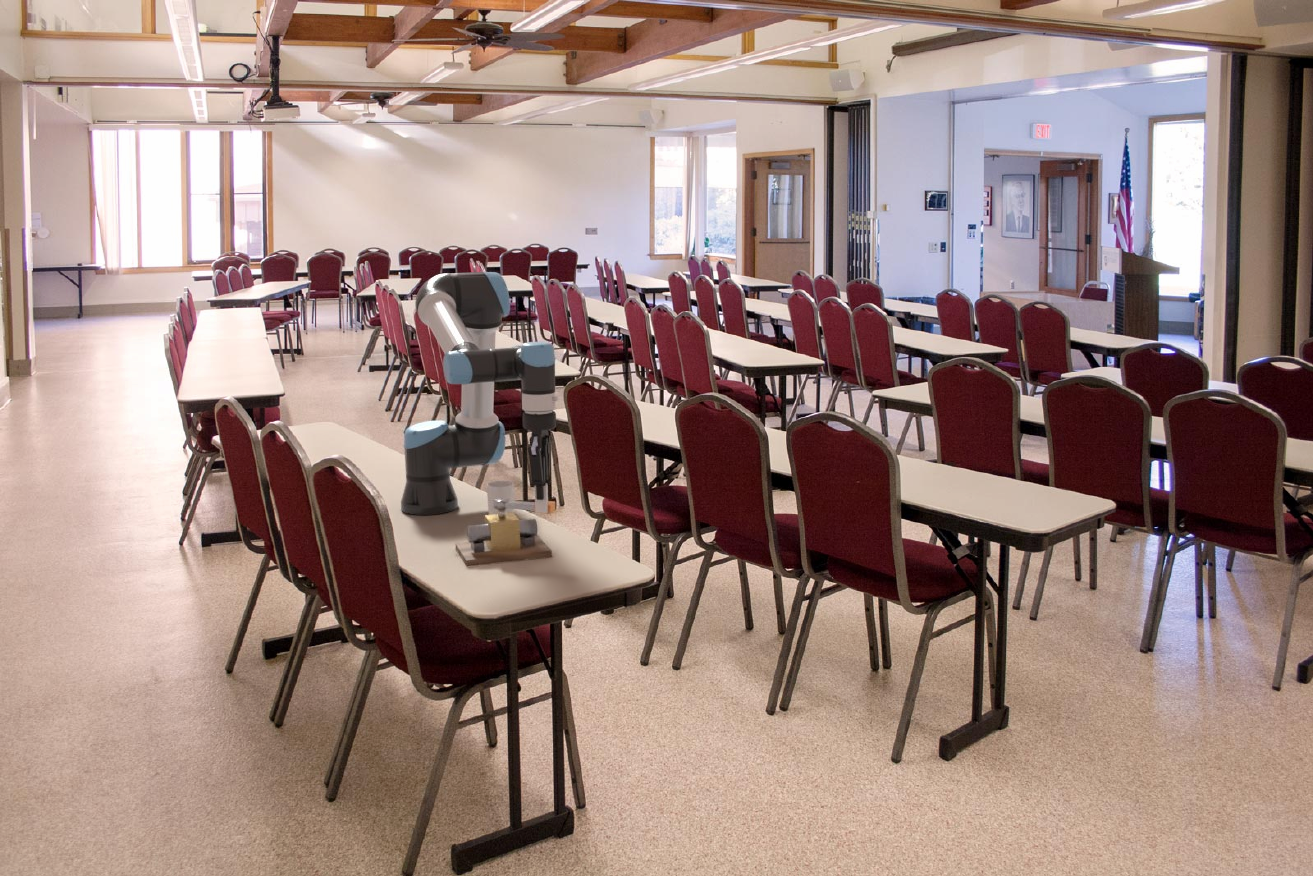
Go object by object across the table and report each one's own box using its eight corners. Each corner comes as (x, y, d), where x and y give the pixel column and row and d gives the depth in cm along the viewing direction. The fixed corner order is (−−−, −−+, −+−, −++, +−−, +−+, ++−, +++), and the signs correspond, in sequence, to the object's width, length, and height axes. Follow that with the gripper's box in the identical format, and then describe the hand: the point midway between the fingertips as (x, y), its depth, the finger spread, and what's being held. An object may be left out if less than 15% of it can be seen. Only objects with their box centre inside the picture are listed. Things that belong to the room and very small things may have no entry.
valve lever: (491, 509, 263) (490, 500, 263) (497, 506, 266) (497, 497, 266) (550, 514, 259) (549, 505, 258) (555, 510, 262) (555, 501, 262)
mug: (517, 531, 284) (516, 485, 281) (491, 534, 281) (489, 488, 279) (509, 521, 293) (508, 476, 290) (484, 524, 291) (482, 478, 288)
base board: (455, 549, 270) (455, 543, 269) (537, 540, 276) (537, 534, 276) (466, 566, 257) (466, 560, 256) (551, 556, 263) (551, 550, 263)
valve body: (466, 546, 267) (464, 508, 265) (532, 539, 272) (531, 502, 270) (472, 554, 260) (470, 516, 258) (539, 547, 266) (538, 509, 264)
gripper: (548, 416, 247) (551, 520, 252) (561, 406, 260) (564, 505, 265) (515, 415, 248) (518, 519, 253) (530, 405, 261) (532, 504, 266)
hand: (541, 512), depth 259 cm, fingers closed
